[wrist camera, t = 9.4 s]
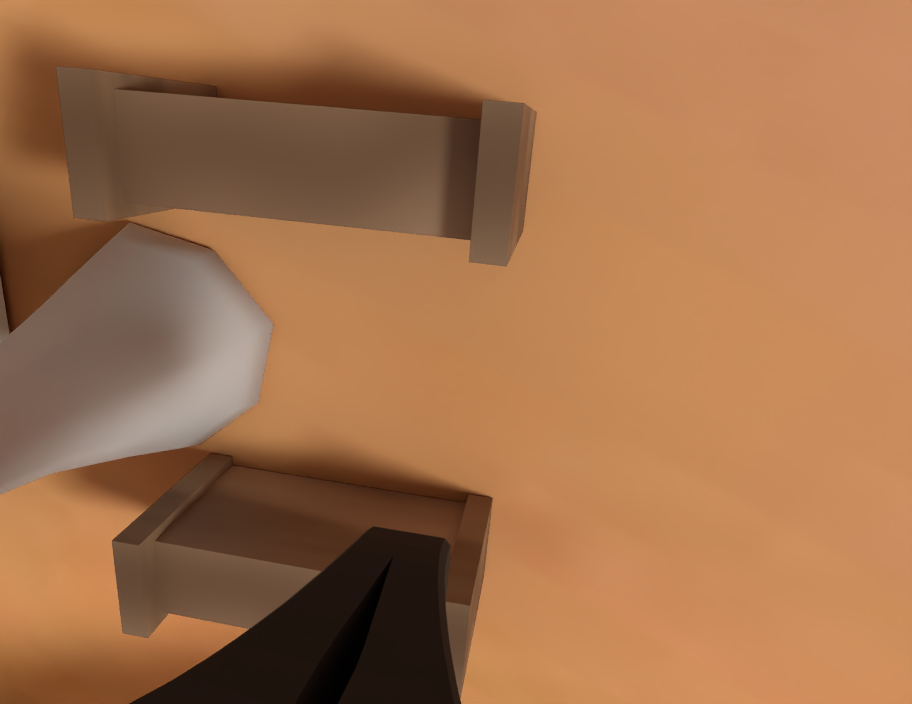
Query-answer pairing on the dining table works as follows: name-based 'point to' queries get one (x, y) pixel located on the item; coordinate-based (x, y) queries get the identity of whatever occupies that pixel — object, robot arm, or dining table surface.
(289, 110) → the housing
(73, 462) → the flask
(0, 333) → the stop
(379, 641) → the robot arm
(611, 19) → the dining table surface
